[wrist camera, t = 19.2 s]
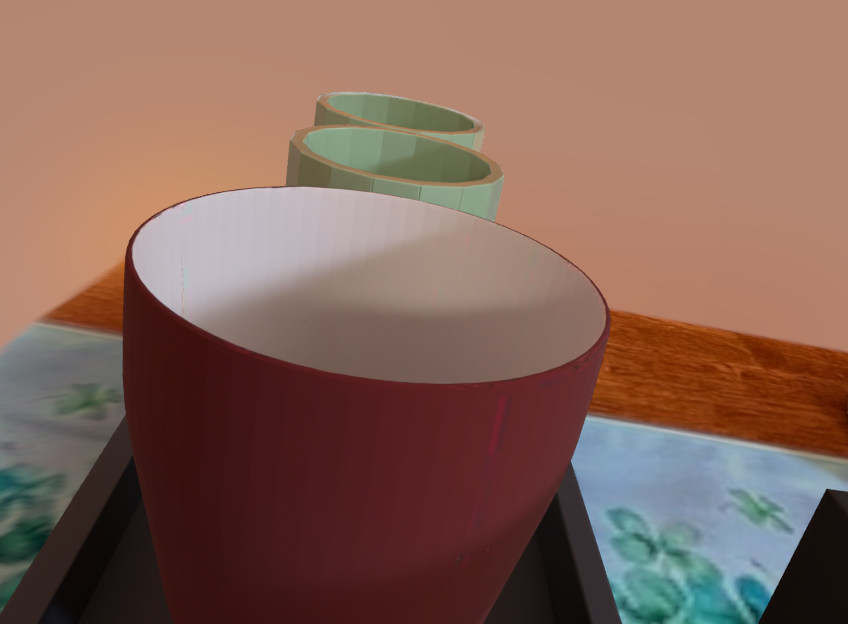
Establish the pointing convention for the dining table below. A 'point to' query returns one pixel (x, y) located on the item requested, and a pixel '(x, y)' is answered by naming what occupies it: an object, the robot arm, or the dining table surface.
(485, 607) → the mug
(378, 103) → the cup
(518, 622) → the tray
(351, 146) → the cup
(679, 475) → the dining table surface
